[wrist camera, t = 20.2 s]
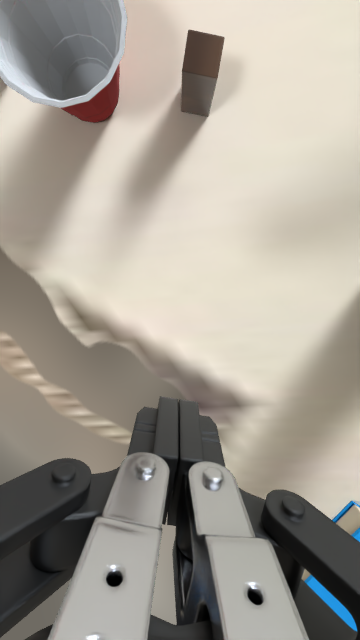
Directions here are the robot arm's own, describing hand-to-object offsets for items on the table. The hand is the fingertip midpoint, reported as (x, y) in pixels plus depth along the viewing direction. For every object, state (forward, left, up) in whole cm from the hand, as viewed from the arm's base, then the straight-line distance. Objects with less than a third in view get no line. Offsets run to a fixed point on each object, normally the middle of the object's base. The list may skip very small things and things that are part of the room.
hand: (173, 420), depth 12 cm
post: (+2, -22, -27) cm, 35 cm away
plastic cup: (+13, -20, -27) cm, 36 cm away
